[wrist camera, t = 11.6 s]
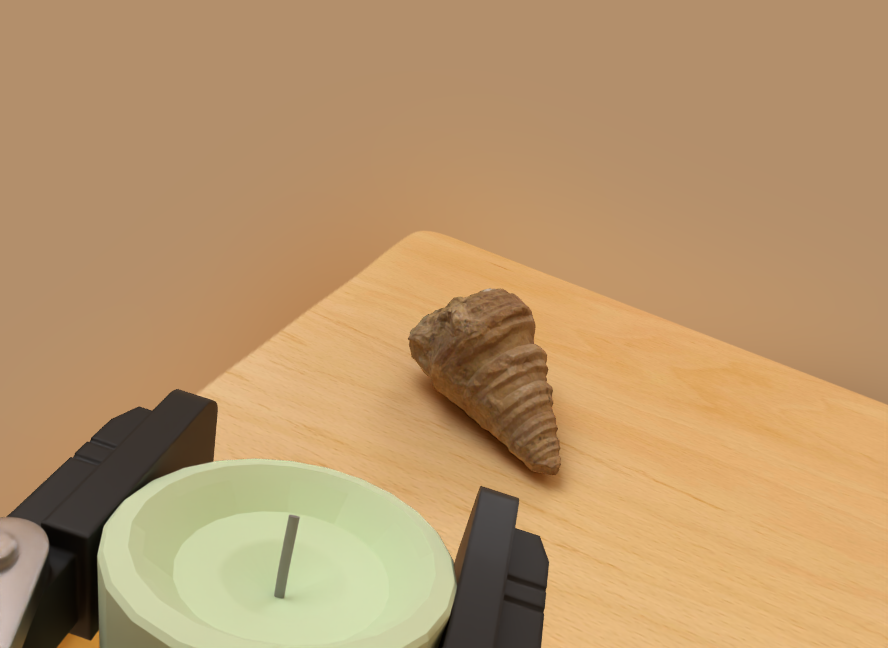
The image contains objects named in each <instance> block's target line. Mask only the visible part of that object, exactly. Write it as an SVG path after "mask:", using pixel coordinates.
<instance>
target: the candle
mask: <svg viewBox="0 0 888 648" xmlns="http://www.w3.org/2000/svg"><path fill="white" fill-rule="evenodd" d="M97 568H98V607H99V647H100V648H438V647H439V644H440V641H441V639H442V636H443V633H444V630H445V627H446V625H447V622H448V619H449V616H450V613H451V609H452V606H453V602H454V598H455V595H456V590H457V581H456V575H455V568H454V562H453V559H452V557H451V556H450V554H449V552H448V550H447V548H446V546H445V545H444V543H443V541H442V539H441V537H440V536H439V534H438V533H437V532H436V531H435V530H434V529H433V528H432V527H431V526H430V524H429V523H428V522H427V521H426V520H425V519H424V518H423V517H422V516H421V515H420V514H419V513H418V512H417V511H416V510H414V509H413V508H411V507H410V506H409V505H407V504H406V503H404V502H403V501H401V500H400V499H398V498H397V497H396V496H394V495H393V494H391V493H389V492H387V491H385V490H383V489H381V488H379V487H377V486H375V485H373V484H371V483H369V482H367V481H364V480H362V479H360V478H357V477H354V476H351V475H348V474H345V473H342V472H339V471H336V470H332V469H329V468H326V467H320V466H315V465H310V464H305V463H300V462H295V461H284V460H270V459H239V460H221V461H215V462H210V463H205V464H200V465H196V466H191V467H186V468H183V469H180V470H178V471H175V472H173V473H170V474H168V475H165V476H162V477H160V478H157V479H155V480H153V481H151V482H150V483H148V484H147V485H145V486H144V487H142V488H141V489H139V490H138V491H137V492H135V493H134V494H132V495H131V496H129V497H128V498H127V499H125V500H124V501H123V502H122V503H121V504H120V505H119V506H118V508H117V509H116V510H115V512H114V513H113V514H112V516H111V517H110V518H109V520H108V521H107V522H106V524H105V525H104V527H103V532H102V536H101V541H100V545H99V550H98V554H97Z"/></svg>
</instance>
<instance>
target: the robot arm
mask: <svg viewBox="0 0 888 648" xmlns="http://www.w3.org/2000/svg"><path fill="white" fill-rule="evenodd" d="M217 412H218V407H217V403H216V402H215V401H213V400H210V399H207V398H204V397H201V396H198V395H194V394H191V393H188V392H185V391H182V390H179V389H176V390H174V391H172V392H171V393H170V394H169V395H168V396H167V397H166V398H165V399H164V400H163V401H162V402H161V403H160V404H159V405H158V406H157V407H156V408H155V409H154V410H153V411H151V410H148V409H145V408H142V407H137V408H135V409H132V410H130V411H128V412H126V413H124V414H122V415H119V416H117V417H115V418H113V419H111V420H110V421H109V422H108V423H107V424H106V425H104V426H103V427H102V428H101V429H100V430H99V431H98V432H97V433H96V434H95V435H94V436H93V437H92V438H91V440H90V442H86V443H85V444H84V445H83V446H82V447H81V448H80V449H79V450H78V451H77V452H76V453H75V455H74V457H73V458H72V457H70V458H69V459H68V460H67V461H66V462H65V463H64V464H63V465H62V466H61V467H59V468H58V469H57V470H56V471H55V472H54V473H53V474H52V475H51V476H50V477H49V478H48V479H47V480H46V481H45V482H43V483H42V484H41V485H40V486H39V487H38V488H37V489H36V490H35V491H34V492H33V493H32V494H31V495H30V496H29V497H27V498H26V499H25V500H24V501H23V502H22V503H21V504H20V505H19V506H18V507H17V508H16V509H15V510H14V511H12V512H11V513H10V514H9V515H8V516H7V517H1V518H0V648H57V647H58V646H59V644H60V643H61V642H62V641H63V639H64V638H65V637H66V636H67V634H68V633H70V634H73V635H76V636H78V637H81V638H84V639H87V640H90V641H91V640H92V639H93V637H94V636H95V635H96V633H97V632H98V631H99V607H98V568H97V554H98V550H99V545H100V541H101V536H102V532H103V527H104V525H105V524H106V522H107V521H108V520H109V518H110V517H111V516H112V514H113V513H114V512H115V510H116V509H117V508H118V506H119V505H120V504H121V503H122V502H123V501H124V500H125V499H127V498H128V497H129V496H131V495H132V494H134V493H135V492H137V491H138V490H139V489H141V488H142V487H144V486H145V485H147V484H148V483H150V482H151V481H153V480H155V479H157V478H160V477H162V476H165V475H168V474H170V473H173V472H175V471H178V470H180V469H183V468H186V467H191V466H196V465H200V464H205V463H210V462H213V458H214V447H215V435H216V424H217ZM518 506H519V498H516V497H513V496H510V495H507V494H504V493H501V492H498V491H495V490H492V489H489V488H485V487H482V486H480V489H479V491H478V494H477V497H476V500H475V503H474V506H473V508H472V511H471V514H470V517H469V520H468V523H467V526H466V529H465V532H464V535H463V538H462V541H461V543H460V547H459V550H458V553H457V556H456V559H455V563H454V568H455V575H456V581H457V590H456V595H455V598H454V602H453V606H452V609H451V613H450V616H449V619H448V622H447V625H446V627H445V630H444V633H443V636H442V639H441V641H440V644H439V647H438V648H541V641H542V630H543V620H544V613H543V612H544V608H545V599H546V592H545V591H546V588H547V578H548V567H549V561H548V558H547V555H546V552H545V549H544V547H543V544H542V541H541V538H540V536H538V535H535V534H532V533H529V532H526V531H522V530H519V529H516V528H515V524H516V518H517V512H518Z"/></svg>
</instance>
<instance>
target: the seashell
mask: <svg viewBox="0 0 888 648" xmlns="http://www.w3.org/2000/svg"><path fill="white" fill-rule="evenodd" d="M534 334H535V322H534V319H533V316H532V311H531V310H530V308H529V307H528V306H526V305H525V304H524V303H523V302H522V301H521V300H520V299H519V298H518V296H516V295H515V294H510V293H508V292H507V291H506V290H504V289H486V290H483V291H480V292H478V293H476V294H473V295H470V296H469V297H465V298H463V297H456V298H453V299H452V300H451V301H450V302H449V304H448V305H447V306H446V307H445V308H441V309H439V310H436V311H434V312H433V313H431V314H430V315H429V314H428V315H426V316H425V317H423V319H422V320H421V321H420V322H419V324H418V325H417V326H416V327H415V328H413V329H412V330H411V332H410V336H409V338H408V339H409V341H410V343H409V346H410V350H411V355H412V358H413V359H415V360H416V362H417V363H418V364H419V366H420V367H421V368H422V370H423V372H424V373H425V374H427V375H428V376H429V377H431V379H432V381H433V386H434V387H435V389H436V390H437V391H438V392H439V393H442V394H443V395H445V396H446V397H447V398H448V399H449V400H450V401H451V402H453V403H455V404H456V405H457V406H458V407H460V408H461V409H462V410H464V411H465V412H466V413H467V415H469V416H470V417H471V418H472V419H474V420H475V421H476V422H477V423H478V424H479V425H480V426H481V427H482V428H483V429H485V430H488V431H489V432H490V433H491V434H492V435H493V436H495V437H496V438H497V439H498V440H499V441H501V442H502V443H504V444H505V445H506V446H507V447H508V449H509V451H510V452H511V453H512V454H514V455H515V456H516V457H517V458H518V459H520V460H522V461H523V462H524V464H525V465H526V466H527V467H528V468H529V469H530V470H531V471H535V472H539V473H544V474H549V475H556V474H557V473H558V471H559V468H560V465H561V464H560V461H561V458H560V456H559V450H560V446H559V439H558V438H557V437H556V431H557V429H558V428H557V426H556V418H555V415H554V414H553V410H552V405H553V400H552V392H553V390H552V387H551V386H550V385H549V384H548V383H547V378H546V375H547V372H548V367H547V365H546V362H547V354H546V352H545V351H544V350H543V349H542V348H541V347H539V346H538V345H536V344H534Z"/></svg>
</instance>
